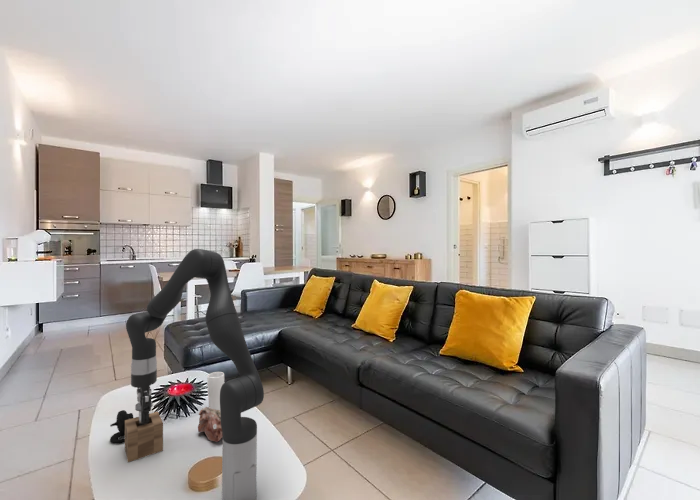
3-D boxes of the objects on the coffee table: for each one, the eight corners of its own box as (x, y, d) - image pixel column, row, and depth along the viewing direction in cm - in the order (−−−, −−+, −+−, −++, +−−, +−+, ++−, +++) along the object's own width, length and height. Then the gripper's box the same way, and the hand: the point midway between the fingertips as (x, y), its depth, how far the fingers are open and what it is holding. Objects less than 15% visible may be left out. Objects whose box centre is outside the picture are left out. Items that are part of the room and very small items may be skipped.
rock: (202, 398, 131) (238, 393, 130) (208, 424, 132) (244, 420, 130) (180, 421, 115) (221, 416, 114) (186, 451, 116) (227, 446, 115)
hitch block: (162, 450, 112) (163, 423, 112) (127, 462, 106) (127, 433, 106) (157, 437, 120) (157, 411, 120) (124, 447, 114) (124, 420, 113)
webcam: (137, 438, 119) (138, 411, 119) (113, 447, 114) (113, 418, 113) (131, 430, 124) (131, 403, 124) (107, 438, 119) (107, 411, 119)
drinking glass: (203, 411, 138) (203, 376, 138) (214, 404, 145) (214, 370, 145) (216, 414, 136) (217, 378, 136) (227, 406, 143) (227, 372, 143)
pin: (153, 433, 112) (153, 404, 112) (136, 439, 109) (136, 408, 109) (151, 427, 116) (151, 399, 116) (134, 432, 113) (134, 403, 113)
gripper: (160, 373, 109) (160, 424, 110) (153, 361, 120) (153, 407, 121) (133, 379, 105) (133, 432, 105) (128, 366, 116) (128, 414, 116)
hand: (143, 418), depth 113 cm, fingers closed on pin, 4 cm apart
